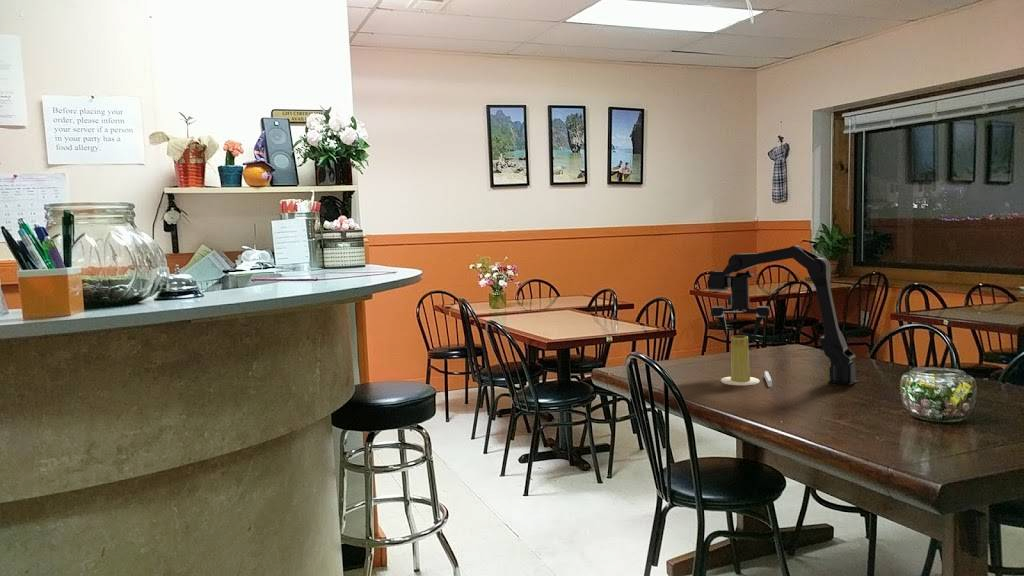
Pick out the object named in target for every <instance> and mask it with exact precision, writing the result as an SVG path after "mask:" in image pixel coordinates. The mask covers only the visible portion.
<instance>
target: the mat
mask: <svg viewBox="0 0 1024 576" xmlns="http://www.w3.org/2000/svg"><path fill="white" fill-rule="evenodd" d="M720 382H721V383H722V384H724V385H729V386H738V387H739V386H741V387H742V386H745V387H746V386H755V385H758V384H759V383H760V379H759V378H757V377H752V376H750V381H747V382H736V381H732V380H731V375H730V376H726V377H722V378H721V379H720Z"/></svg>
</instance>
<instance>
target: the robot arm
mask: <svg viewBox="0 0 1024 576" xmlns="http://www.w3.org/2000/svg"><path fill="white" fill-rule="evenodd" d="M788 259H793V260H794V261H796V262H797V263H798V264H800V265H801V266H802V268H805V269H806V272H807V273H808V276H809V279H810V281H811V282H812V284H813V286H814V287H815V291H816V295H817V301H818V304H819V305H818V306H819V311H820V315H821V320H822V325H823V330H824V332H823V333H824V334H823V335H822V336H821V337H820V338H819V342H820V345H821V349H820V351H821V352H823V354H824V355H825V356H826V357H827V358H829V361H830V366H829V367H828V370H829V372H828V374H829V375H828V376H829V378H828V379H829V380H827V381H828V383H831V384H832V383H833V384H837V385H838V384H839V385H845V386H850V385H853V384H856V383H857V382H859V381H858V380H857V379H856V363H855V362H854V360H855V358H856V354H855V353H854V352H853V351H852V350H851V349H850V348H849V347H848V344H847V342H846V338H845V337H844V334H843V333H842V331H841V329H840V327H839V322H838V318H837V312H836V309H835V308H836V307H835V303H834V299H833V292H832V289H831V277H832V266H831V265H832V263H831V262H830V260H829V259H827V258H825V257H819V256H818V255H815V254H814V253H812V252H810V251H808V250H806V249H804V248H803V247H802V246H801V245H792V246H789V247H785V248H780V249H774V250H768V251H763V252H759V253H758V252H757V253H754V252H751V253H749V252H745V253H744V252H742V253H741V252H740V253H735V254H732V255H731V256H730V257H729V258H728V261H727V263H728V264H727V265H726V267H725V268H724V270H720V271H719V270H718V271H717V270H709V275H708V278H707V281H706V282H707V288H708V290H709V291H728V288H729V289H730V296H729V295H728V296H727V306H728V307H730V308H725V307H724V305H722V306H719V305H718V306H717V305H716V306H715V305H713V307H712V308H711V310H710V316H711V317H714V318H715V320H716V319H718V321H719V323H720V324H721V327H722V330H723V333H724V334H725V337H728V328H727V322H726V315H733V314H734V315H736V314H737V315H739V314H740V315H743V314H744V315H750V314H751V315H754V314H755V316H756V317H755V325H754V329H753V330H754V331H753V332H754V333H753V336H754V337H755V338H756V336H757V333H758V330H759V326H760V324H761V323H762V320H764V319H766V317H769V316H771V314H770V307H769V305H757V307H756V308H755V307H754V308H751V307H750V296H749V295H750V292H749V278H754V277H755V276H756V275H755V274H754V273H752V271H751V270H750V269H751V268H753V267H755V266H758V265H761V264H765V263H771V262H777V261H778V262H779V261H783V260H788ZM747 269H749V270H747ZM745 270H746V271H745ZM740 271H745V272H740ZM733 274H735V275H733Z"/></svg>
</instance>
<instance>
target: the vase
mask: <svg viewBox="0 0 1024 576" xmlns="http://www.w3.org/2000/svg"><path fill="white" fill-rule="evenodd" d="M730 340H731V341H730V344H731V345H730V348H731V349H730V356H731V357H730V359H731V360H730V361H731V363H730V370H731V371H730V372H731V373H730V374H731V375H730V376H731V380H732V381H736V382H747V381H750V377H751V372H750V355H749V351H750V350H749V336H748V335H733V336H731V337H730Z"/></svg>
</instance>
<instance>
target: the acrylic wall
mask: <svg viewBox="0 0 1024 576" xmlns="http://www.w3.org/2000/svg"><path fill="white" fill-rule="evenodd" d="M764 379H765V381H766V384H767V387H769V388H772V386H773V382H772V378H771V375H770V374H769V371H767V370H765V371H764Z"/></svg>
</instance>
